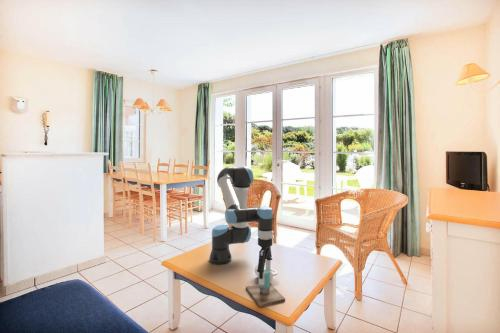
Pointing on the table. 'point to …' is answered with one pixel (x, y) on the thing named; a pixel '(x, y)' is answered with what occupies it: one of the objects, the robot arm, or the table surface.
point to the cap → (266, 279)
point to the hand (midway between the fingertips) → (264, 278)
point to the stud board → (264, 295)
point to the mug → (270, 273)
